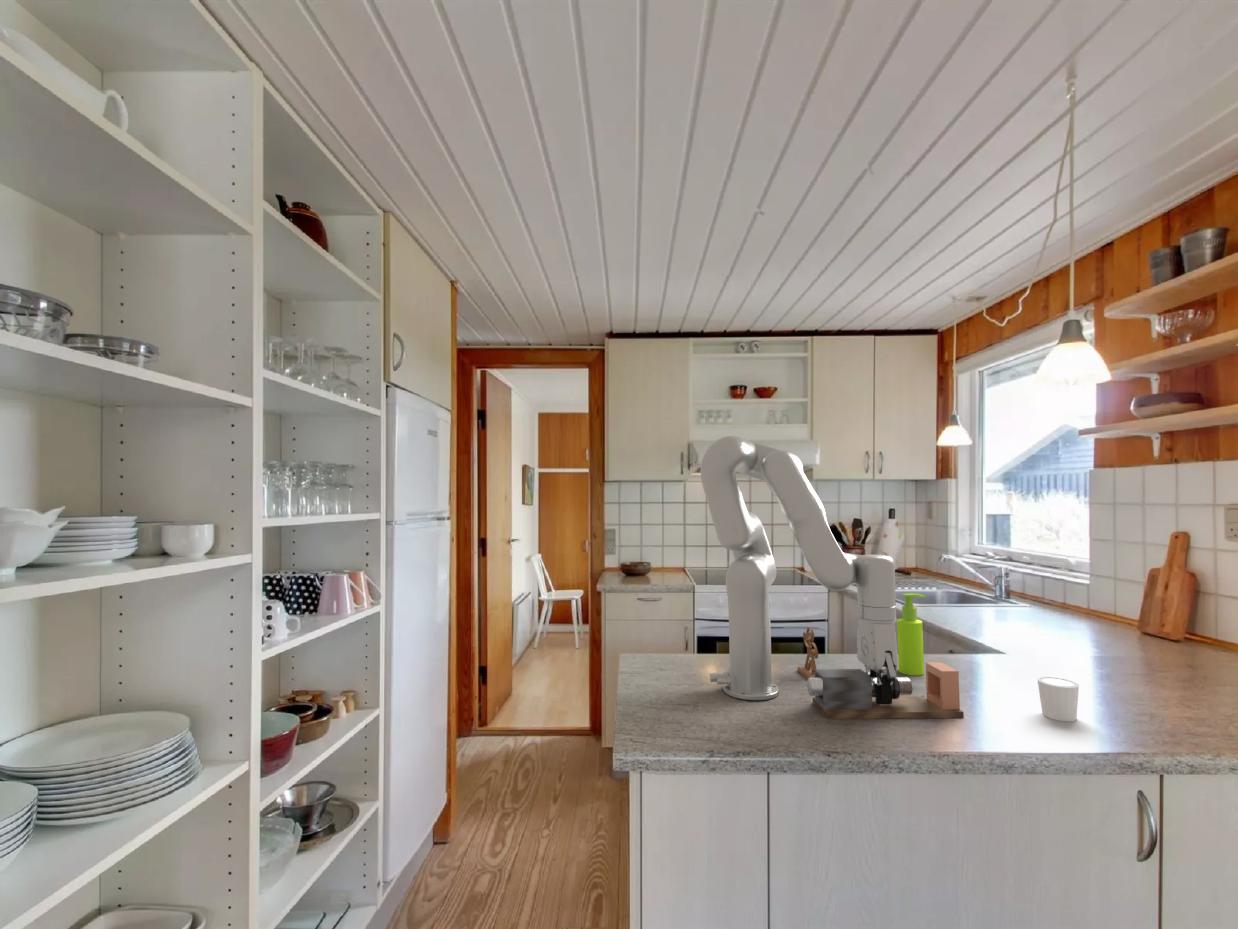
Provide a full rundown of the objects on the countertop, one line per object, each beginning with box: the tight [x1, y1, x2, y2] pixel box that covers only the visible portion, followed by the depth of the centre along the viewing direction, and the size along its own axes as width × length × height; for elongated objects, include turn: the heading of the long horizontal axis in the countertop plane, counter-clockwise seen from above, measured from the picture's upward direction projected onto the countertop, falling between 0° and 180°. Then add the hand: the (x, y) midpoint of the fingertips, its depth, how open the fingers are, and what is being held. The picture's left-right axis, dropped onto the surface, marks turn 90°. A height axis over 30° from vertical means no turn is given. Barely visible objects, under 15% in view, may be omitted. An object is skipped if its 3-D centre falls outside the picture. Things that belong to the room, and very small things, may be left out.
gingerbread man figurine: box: [797, 627, 819, 680], centre depth 149 cm, size 9×4×12 cm, turn 4°
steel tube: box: [806, 676, 913, 699], centre depth 125 cm, size 21×5×5 cm, turn 90°
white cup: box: [1037, 676, 1080, 722], centre depth 121 cm, size 7×7×7 cm
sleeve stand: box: [812, 668, 965, 720], centre depth 125 cm, size 28×9×8 cm, turn 90°
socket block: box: [925, 661, 961, 710], centre depth 125 cm, size 4×6×8 cm, turn 0°
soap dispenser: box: [896, 592, 927, 677], centre depth 151 cm, size 6×7×20 cm
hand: (879, 699), depth 125 cm, fingers closed on steel tube, 3 cm apart
